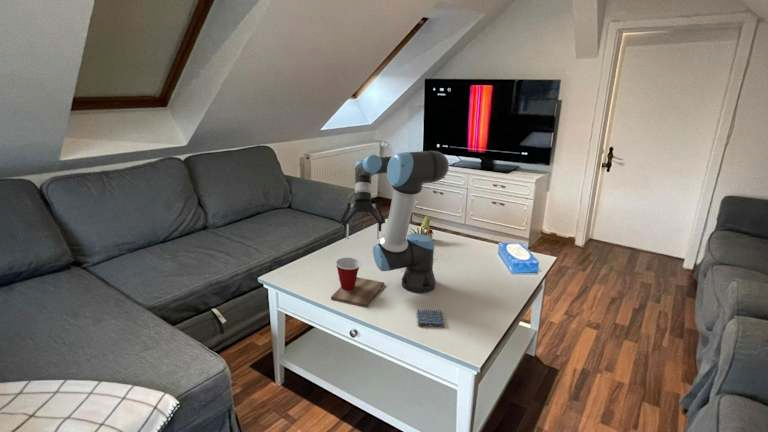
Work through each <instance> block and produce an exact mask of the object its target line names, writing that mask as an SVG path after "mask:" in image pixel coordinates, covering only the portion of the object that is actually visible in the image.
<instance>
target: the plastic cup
mask: <svg viewBox="0 0 768 432" xmlns="http://www.w3.org/2000/svg"><path fill="white" fill-rule="evenodd" d="M361 264H362V262H361V260H359V259H358V258H355V257H354V258H353V257H347V256H346V257H340V258H338V259H336V260H335V265H336V268H337V273H338V279H339V283H340V287H341V288H342V289H343V290H352V289H354V287H355V282H356V278H357V276H358V273H359V269H360V267H361Z"/></svg>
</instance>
